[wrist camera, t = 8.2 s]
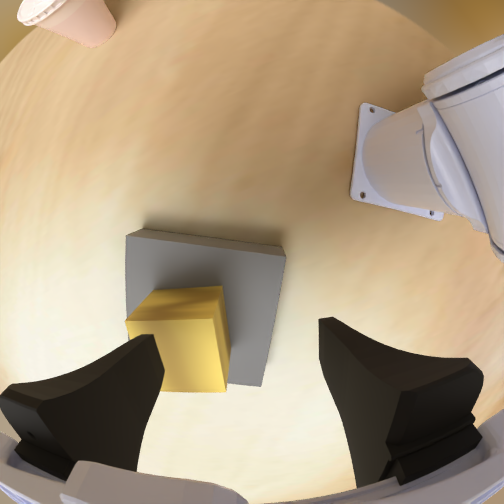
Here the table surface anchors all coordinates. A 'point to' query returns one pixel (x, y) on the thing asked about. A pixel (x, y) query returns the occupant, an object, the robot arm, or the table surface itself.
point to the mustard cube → (187, 336)
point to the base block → (214, 274)
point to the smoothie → (71, 19)
